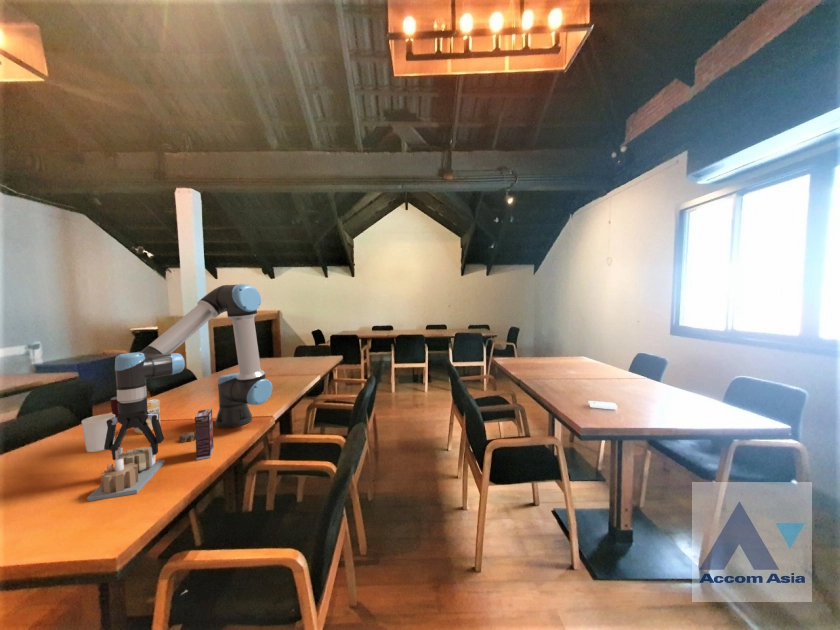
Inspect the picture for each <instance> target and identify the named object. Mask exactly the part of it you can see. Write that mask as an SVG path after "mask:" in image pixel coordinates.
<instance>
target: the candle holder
mask: <svg viewBox="0 0 840 630" xmlns="http://www.w3.org/2000/svg"><path fill="white" fill-rule="evenodd" d="M111 418H115V414H112V413H103V414H98V415H97V414H96V415H93V416H90V417H86V418H84V419H82V420H81V426H82V433H83V440H84V445H85V451H86V453H87V452H88V453H96V452H101V451H106V450H105V449H104V446H105V440H106V434H107V429H108V426H107V420H109V419H111ZM115 440H116V434H115V435H114V441H113V444H114V442H115Z"/></svg>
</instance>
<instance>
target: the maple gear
mask: <svg viewBox="0 0 840 630" xmlns="http://www.w3.org/2000/svg"><path fill="white" fill-rule="evenodd" d="M148 447H149V446H147V447H145V446H141V447H138V448H137V449H138V451H139V454H136V455H132V453H133V450H134V449H133V448H132V449H131V448H130V449H128V450H126V452H123V453H121V454H120V455H119V459H123V461H124V465H127V464H129V463H135V465H136V464H137V466H138V470H139V471H141V470H143V469H146V467H148V466H149V449H148Z"/></svg>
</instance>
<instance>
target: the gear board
mask: <svg viewBox="0 0 840 630" xmlns="http://www.w3.org/2000/svg"><path fill="white" fill-rule="evenodd" d="M136 454H139V451H138V448H135V449H134V450H133V453H132V455H136ZM164 464H165V459H162V460H161V459H160V460H156V462H155V463H154V464H153V465H152V466H148V467H146V469H143V470H141V471H139V470H138V466H137V464H136V465H135V463H129V464H127V465H124V461H123V459H117V460H114V463H108V464H106V469H105V470H104V472H101V473H100V484H101V485H99V486H98V487H97V488H96V489H95V490H93V491H92V492H91V493H90V494H89V495H88V496H87V497H86V501H87V502H91V501H97V500H98V501H99V500H105V499H111V498H116V497H117V498H119V497H124V496H129V495H137V494H138V493H139V492H140V491H141V490H142V489H143V488H144V486H146V484H147V483H149V481H150V480H151V479H152V477H154V475H155V474H156V473H157V472H158V471H159V470H160V469H161V468H162V467H163V466H164Z"/></svg>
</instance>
